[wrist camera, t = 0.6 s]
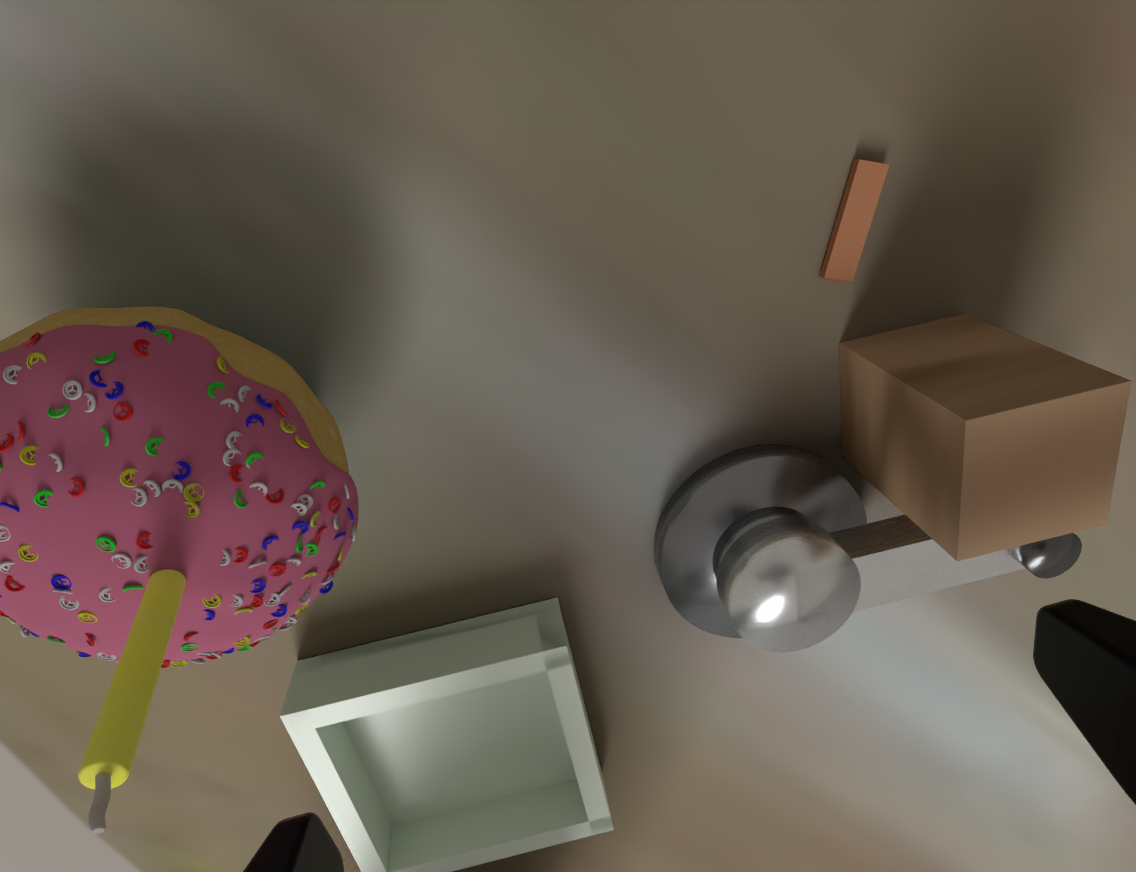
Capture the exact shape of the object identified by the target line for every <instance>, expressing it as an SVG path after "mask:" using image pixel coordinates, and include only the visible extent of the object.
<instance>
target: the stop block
mask: <svg viewBox="0 0 1136 872" xmlns="http://www.w3.org/2000/svg"><path fill="white" fill-rule="evenodd" d="M839 354H840V397H841V440H842V457H843V458H844V459H845V460H846V461H847V462H848V463H849V464H851V465H852V466H853V467H854V468H855V469H856V470H857V471H858V472H859V473H860V474H861V475H863V476H864V477H865V478H866V479H867V480H868V481H869V482H870V483H871V484H872V485H874V486H875V487H876V488H877V489H878V490H879V491H880V492H881V493H882V494H883V495H885V496H886V497H887V498H888V499H889V500H890V501H891V502H892V503H893V504H894V505H896V506H897V507H898V508H899V509H900V510H901V511H902V512H903V513H904V514H905V515H907V516H908V517H909V518H910V519H911V520H912V521H913V522H914V523H915V524H916V525H917V526H919V527H920V528H921V529H922V530H923V531H924V532H925V533H926V534H927V535H928V536H930V537H931V538H932V539H933V540H934V541H935V542H936V543H937V544H938V545H939V546H941V547H942V548H943V549H944V550H945V551H946V552H947V553H948V554H949V555H950V556H952V557H953V558H954V559H955V560H956V561H961V560H965V559H969V558H973V557H977V556H981V555H985V554H989V553H993V552H997V551H1001V550H1005V549H1009V548H1013V547H1017V546H1021V545H1025V544H1029V543H1033V542H1037V541H1041V540H1045V539H1049V538H1053V537H1057V536H1061V535H1066V534H1070V533H1074V532H1078V531H1082V530H1086V529H1090V528H1094V527H1098V526H1102V525H1106V523H1107V518H1108V512H1109V506H1110V500H1111V495H1112V489H1113V483H1114V478H1115V472H1116V466H1117V460H1118V455H1119V449H1120V443H1121V438H1122V432H1123V426H1124V420H1125V415H1126V409H1127V403H1128V397H1129V392H1130V386H1131V380H1128V379H1126V378H1123V377H1121V376H1118V375H1116V374H1113V373H1111V372H1108V371H1106V370H1103V369H1101V368H1098V367H1096V366H1093V365H1091V364H1088V363H1086V362H1083V361H1081V360H1078V359H1076V358H1073V357H1071V356H1068V355H1066V354H1063V353H1061V352H1058V351H1056V350H1054V349H1051V348H1049V347H1046V346H1044V345H1041V344H1039V343H1036V342H1034V341H1031V340H1029V339H1026V338H1024V337H1021V336H1019V335H1016V334H1014V333H1011V332H1009V331H1006V330H1004V329H1001V328H999V327H996V326H994V325H991V324H989V323H986V322H984V321H981V320H979V319H976V318H974V317H971V316H969V315H966V314H960V315H956V316H952V317H947V318H943V319H939V320H935V321H930V322H926V323H922V324H917V325H913V326H909V327H905V328H900V329H896V330H892V331H888V332H883V333H879V334H875V335H870V336H866V337H862V338H858V339H853V340H849V341H845V342H841V343H839Z"/></svg>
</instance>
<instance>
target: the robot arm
mask: <svg viewBox="0 0 1136 872" xmlns="http://www.w3.org/2000/svg"><path fill="white" fill-rule="evenodd" d="M1033 658H1034V663H1035V666H1036V669H1037V671H1038V673H1039V675H1040V676H1041V678H1042V679H1043V681H1044V682H1045V683H1046V685H1047V686H1048V688H1049V689H1050V690H1051V692H1052V693H1053V694H1054V696H1055V697H1056V699H1057V700H1058V701H1059V703H1060V704H1061V705H1062V707H1063V708H1064V710H1065V711H1066V712H1067V714H1068V715H1069V716H1070V718H1071V719H1072V721H1073V722H1074V723H1075V725H1076V726H1077V727H1078V729H1079V730H1080V732H1081V733H1082V734H1083V736H1084V737H1085V738H1086V740H1087V741H1088V743H1089V744H1090V745H1091V747H1092V748H1093V750H1094V751H1095V752H1096V754H1097V755H1098V756H1099V758H1100V759H1101V761H1102V762H1103V763H1104V765H1105V766H1106V767H1107V769H1108V770H1109V772H1110V773H1111V774H1112V776H1113V777H1114V778H1115V780H1116V781H1117V782H1118V783H1119V785H1120V786H1121V787H1122V789H1123V790H1124V791H1125V793H1126V794H1127V795H1128V796H1129V797H1130V799H1131V800H1132V801H1133V802H1134V803H1135V805H1136V621H1135V620H1132V619H1129V618H1127V617H1124V616H1121V615H1118V614H1116V613H1113V612H1110V611H1108V610H1105V609H1102V608H1100V607H1097V606H1094V605H1092V604H1089V603H1086V602H1083V601H1080V600H1075V599H1070V600H1065V601H1061V602H1057V603H1054V604H1050V605H1047V606H1044V607H1042V608H1041V609H1040V610H1039V611H1038V613H1037V616H1036V627H1035V638H1034V650H1033ZM243 872H344V867H343V861H342V857H341V854H340V852H339V850H338V848H337V846H336V845H335V843H334V841H333V840H332V838H331V836H330V835H329V833H328V831H327V830H326V828H325V826H324V825H323V823H322V821H321V820H320V818H319V817H318V816H317V815H316V814H314V813H312V812H308V813H304V814H301V815H297V816H294V817H290V818H286V819H284V820H282V821H280V822H279V823H278V824H277V825H276V826H275V827H274V828H273V829H272V830H271V832H270V833H269V835H268V836H267V838H266V839H265V841H264V842H263V844H262V845H261V846H260V848H259V849H258V851H257V852H256V854H255V855H254V857H253V858H252V859H251V861H250V862H249V864H248V865H247V867H246V868H245V870H244V871H243Z"/></svg>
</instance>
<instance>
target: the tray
mask: <svg viewBox="0 0 1136 872" xmlns="http://www.w3.org/2000/svg"><path fill="white" fill-rule="evenodd" d="M280 718H281V719H282V721H283V723H284V725H285V727H286V729H287V731H288V733H289V735H290V737H291V738H292V740H293V742H294V744H295V746H296V748H297V750H298V752H299V754H300V756H301V758H302V759H303V761H304V763H305V765H306V767H307V769H308V771H309V773H310V775H311V777H312V779H313V780H314V782H315V784H316V786H317V788H318V790H319V792H320V794H321V796H322V798H323V800H324V801H325V803H326V805H327V807H328V809H329V811H330V813H331V815H332V817H333V819H334V820H335V822H336V824H337V826H338V828H339V830H340V832H341V834H342V836H343V838H344V840H345V841H346V843H347V845H348V847H349V849H350V851H351V853H352V855H353V857H354V859H355V861H356V862H357V864H358V866H359V868H360V870H361V872H453V871H456V870H460V869H464V868H468V867H472V866H476V865H480V864H484V863H487V862H491V861H495V860H499V859H503V858H507V857H511V856H515V855H519V854H522V853H526V852H530V851H534V850H538V849H542V848H546V847H550V846H553V845H557V844H561V843H565V842H569V841H573V840H577V839H581V838H584V837H588V836H592V835H596V834H600V833H604V832H608V831H612V830H614V828H613V823H612V819H611V814H610V809H609V804H608V799H607V795H606V790H605V785H604V780H603V775H602V771H601V767H600V763H599V759H598V755H597V751H596V747H595V743H594V739H593V736H592V732H591V728H590V724H589V720H588V716H587V712H586V708H585V704H584V700H583V696H582V692H581V688H580V684H579V680H578V676H577V672H576V668H575V664H574V660H573V656H572V652H571V649H570V645H569V641H568V637H567V633H566V629H565V625H564V621H563V617H562V613H561V609H560V605H559V601H558V597H557V598H553V599H549V600H545V601H541V602H537V603H533V604H528V605H524V606H520V607H516V608H512V609H508V610H504V611H500V612H496V613H492V614H488V615H483V616H479V617H475V618H471V619H467V620H463V621H459V622H455V623H451V624H447V625H443V626H438V627H434V628H430V629H426V630H422V631H418V632H414V633H410V634H406V635H402V636H397V637H393V638H389V639H385V640H381V641H377V642H373V643H369V644H365V645H361V646H357V647H352V648H348V649H344V650H340V651H336V652H332V653H328V654H324V655H320V656H316V657H312V658H307V659H303V660H299V661H297V663H296V666H295V669H294V672H293V676H292V679H291V682H290V685H289V689H288V692H287V695H286V699H285V702H284V705H283V708H282V712H281V715H280Z"/></svg>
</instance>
